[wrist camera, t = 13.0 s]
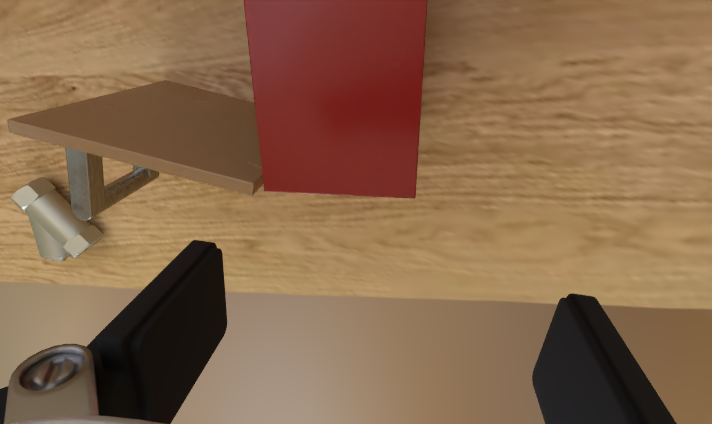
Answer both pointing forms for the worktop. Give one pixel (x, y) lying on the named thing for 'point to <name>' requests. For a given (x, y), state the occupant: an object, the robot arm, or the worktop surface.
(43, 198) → the pipe fitting
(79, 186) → the cabinet door
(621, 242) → the worktop surface
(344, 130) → the valve cabinet
